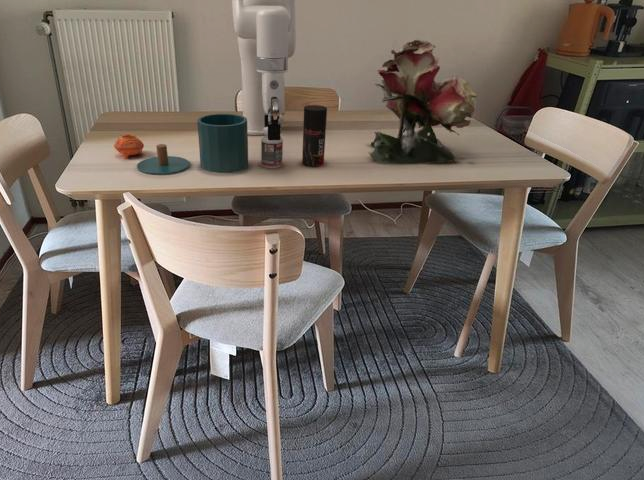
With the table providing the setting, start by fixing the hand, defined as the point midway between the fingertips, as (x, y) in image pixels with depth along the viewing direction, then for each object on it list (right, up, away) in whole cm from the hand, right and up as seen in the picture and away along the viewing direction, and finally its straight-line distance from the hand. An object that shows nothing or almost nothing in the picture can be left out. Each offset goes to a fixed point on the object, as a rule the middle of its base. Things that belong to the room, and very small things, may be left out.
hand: (272, 134), depth 130 cm
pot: (-40, -4, +9) cm, 41 cm away
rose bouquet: (+41, 0, +18) cm, 45 cm away
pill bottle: (0, -7, +5) cm, 9 cm away
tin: (-13, -8, +3) cm, 15 cm away
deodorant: (+11, -6, +7) cm, 14 cm away
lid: (-29, -8, +1) cm, 30 cm away
